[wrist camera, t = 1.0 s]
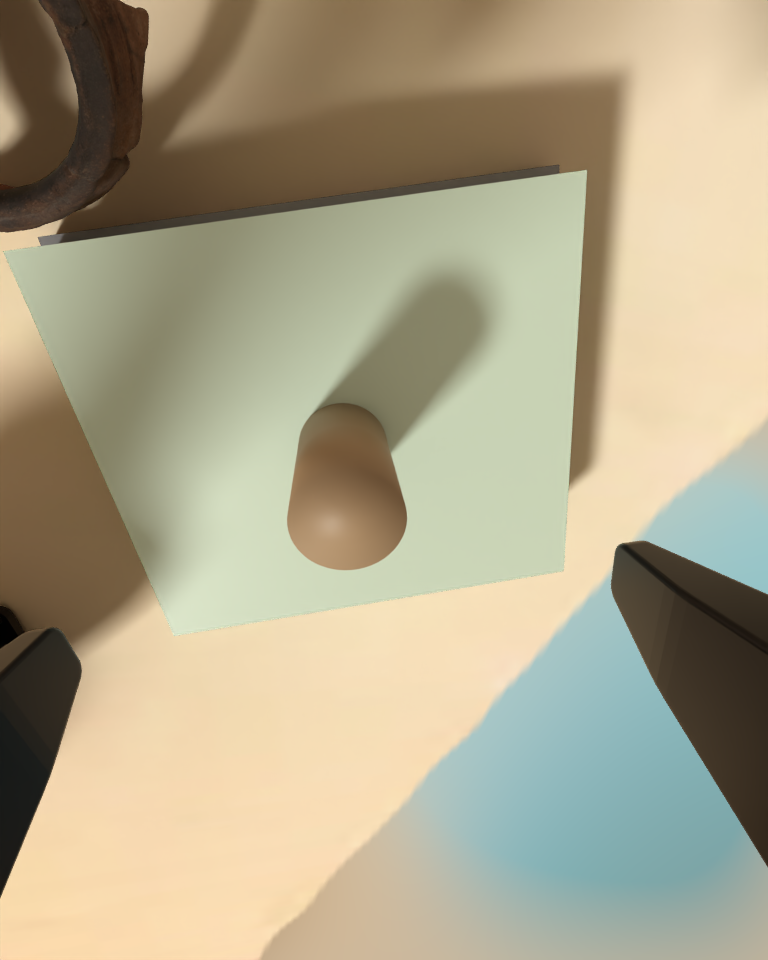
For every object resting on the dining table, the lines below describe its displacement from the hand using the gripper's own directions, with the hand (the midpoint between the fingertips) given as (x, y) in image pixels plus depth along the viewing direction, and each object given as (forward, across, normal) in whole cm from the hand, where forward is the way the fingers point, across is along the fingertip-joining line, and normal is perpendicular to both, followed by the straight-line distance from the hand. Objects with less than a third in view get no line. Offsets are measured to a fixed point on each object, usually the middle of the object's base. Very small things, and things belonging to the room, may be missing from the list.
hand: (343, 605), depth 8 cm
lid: (+12, 0, +1) cm, 12 cm away
